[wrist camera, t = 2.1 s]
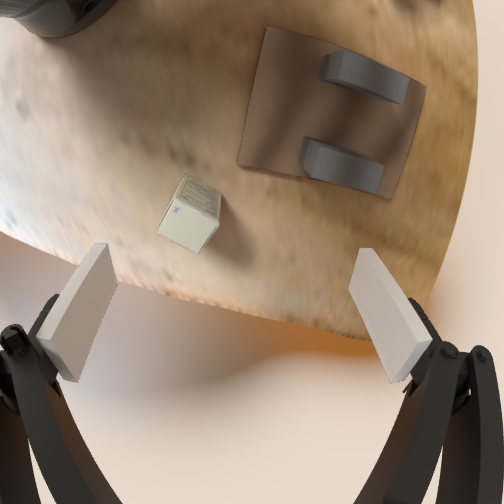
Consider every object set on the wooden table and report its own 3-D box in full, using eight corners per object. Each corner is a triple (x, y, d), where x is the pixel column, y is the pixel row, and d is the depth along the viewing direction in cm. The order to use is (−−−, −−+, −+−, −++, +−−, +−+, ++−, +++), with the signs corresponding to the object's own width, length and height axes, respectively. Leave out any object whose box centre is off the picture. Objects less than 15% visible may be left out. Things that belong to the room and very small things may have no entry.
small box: (169, 201, 33) (153, 233, 26) (186, 172, 31) (173, 197, 24) (204, 221, 35) (198, 256, 28) (223, 193, 33) (221, 223, 26)
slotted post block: (236, 162, 31) (237, 181, 25) (266, 28, 23) (275, 11, 17) (388, 196, 34) (414, 220, 28) (421, 85, 26) (457, 90, 20)
